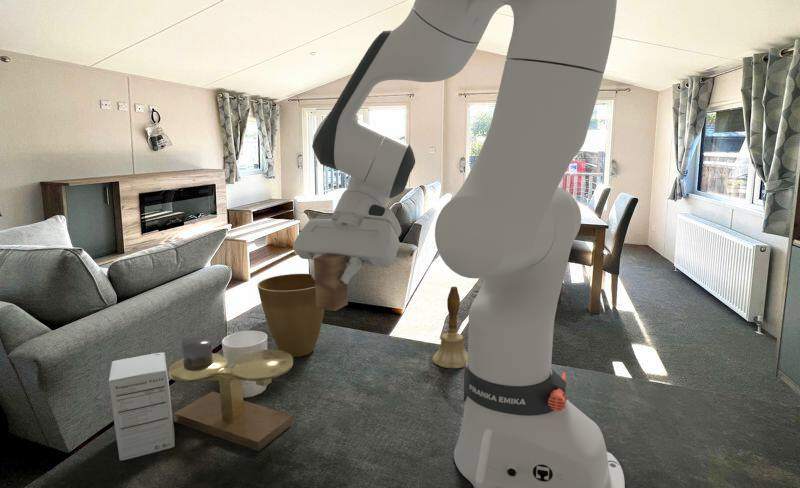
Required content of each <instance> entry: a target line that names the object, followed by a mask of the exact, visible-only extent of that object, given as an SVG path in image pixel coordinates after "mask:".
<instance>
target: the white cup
mask: <svg viewBox="0 0 800 488" xmlns="http://www.w3.org/2000/svg"><path fill="white" fill-rule="evenodd" d="M221 346H222V355H223V356H225V357H226V358H227V361H228V367H227V368H231V364H232V362H233V361H234V360H235V359H237V358H238V357H240V356H242V355H244V354H247V353H250V352H254V351H260V350H268V335H267V333H265V332H263V331H259V330H243V331H242V330H241V331H237V332H234V333H230V334H229V335H226V336H224V338H223V339H222V340H221ZM267 386H268V384H267V385H266V386H260V385H257V384H256V381H242V390H243V399H244V398H246V399H247V398H251V397H255V396H258V395H260V394H262V393H264V392H265V391H266V389H267Z"/></svg>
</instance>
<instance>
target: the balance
mask: <svg viewBox="0 0 800 488" xmlns="http://www.w3.org/2000/svg"><path fill="white" fill-rule="evenodd" d="M212 347H213V346H212V339H211V338H210V337H208V336H196V337H191V338H188V339H186V340H184V341H183V342H181V350H182V351H181V352H182V358H180V359H178V360H176V361H175V362H173V363H172V364H170V366H169V367H168V369H167V372H168V378H170V379H171V380H173V381H176V382H180V383H193V382H195V383H196V382H201V381H218V383H219V384H218V385H219V392H216V391H211V392H209V393H206V394H205V395H204V396H202V397H200V398H198V399H196V400H194V401H193V402H191V403H189V404H187V405H186V406H184V407H182V408H180V409H179V410H177V411H175V412H174V413H173V423H177V424H180V425H182V426H183V425H184V426H186V427H188V428H191V429H194V430H196V431H197V430H198V431H200V432H203V433H206V434H209V435H211V436H214V437H217V438H219V439H223V440H225V441H228V442H232V443H234V444H237V445H240V446H243V447H245V448H247V449H248V448H249V449H251V450H254V451H256V452H260V451H261V450H262V449H264V448H265V447H267V446H268V445H269V444H270V443H271V442H273V441H274V440H276V438H277V437H280V435H281V434H283V433H284V432H285V431H286V430H287V429H289V428H290V427H291V426H293V425H294V424H295V421H294V415H293V414H291V413H287V412H284V411H282V410H277V409H275V408H274V409H273V408H270V407H267V406H263V405H260V404H258V403H254V402H252V401H251V402H250V401H248V400H247V401H246V400H244V398H243V390H242V381H256V384H257V385H260V386H266V385H267V386H268V385H269V384H271V383H272V379H275V378H277V377H280V376H283V375H284V374H287V373H288V372H289V371H291V369H292V368H293V365H294V357H292V355H291V354H289V353H288V352H285V351H281V350H279V349H267V350H260V351H254V352H250V353H247V354H244V355H242V356H240V357H238V358H237V359H235V360H234V361H233V362H232V364H231V368H227V367H228V361H227V358H226V357H225V356H224V355H223V354H221V353H213V350H212V349H213V348H212Z"/></svg>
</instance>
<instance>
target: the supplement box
mask: <svg viewBox="0 0 800 488" xmlns="http://www.w3.org/2000/svg"><path fill="white" fill-rule="evenodd" d="M166 361H167V360H166V353H165V352H156V353H150V354H145V355H144V354H143V355H139V356H134V357H128V358H121V359H117V360H113V361H111V365H110V370H109V376H108V377H109V378H108V386H109V393H110V400H111V408H112V416H113V423H114V431H115V438H116V444H117V445H116V446H117V449H118V458H119V461H122V462H123V461H126V460H130V459H134V458H138V457H143V456H145V455H150V454H154V453H157V452H162V451H164V450H168V449H173V448H174V447H175V445H176V443H175V441H176V440H175V439H176V438H175V427H174V426H175V425H174V415H173V409H172V401H171V400H172V399H171V392H170V391H171V390H170V384H169V372H168V367H167V362H166Z"/></svg>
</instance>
